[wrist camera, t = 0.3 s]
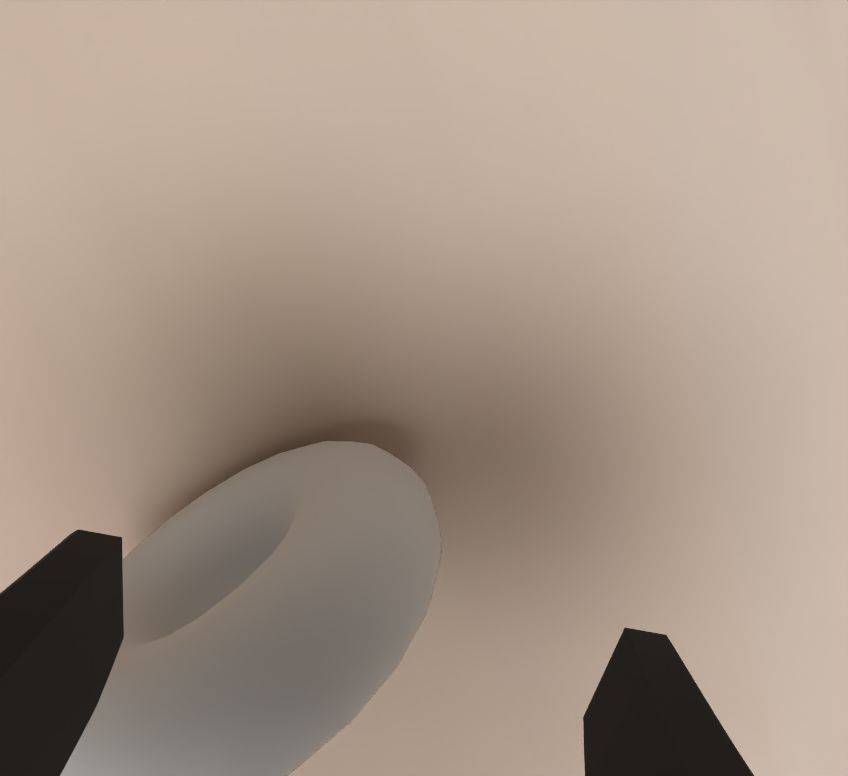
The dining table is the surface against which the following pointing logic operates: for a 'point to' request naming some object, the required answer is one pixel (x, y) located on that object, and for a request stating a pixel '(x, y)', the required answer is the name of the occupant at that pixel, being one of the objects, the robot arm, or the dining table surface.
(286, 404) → the dining table surface
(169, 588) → the donut
